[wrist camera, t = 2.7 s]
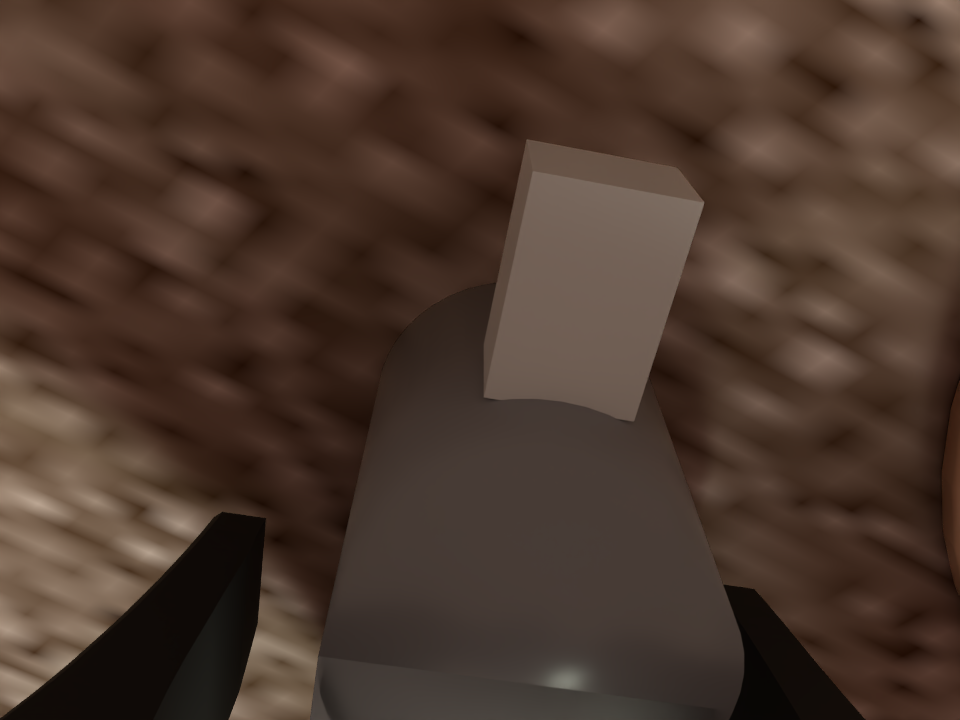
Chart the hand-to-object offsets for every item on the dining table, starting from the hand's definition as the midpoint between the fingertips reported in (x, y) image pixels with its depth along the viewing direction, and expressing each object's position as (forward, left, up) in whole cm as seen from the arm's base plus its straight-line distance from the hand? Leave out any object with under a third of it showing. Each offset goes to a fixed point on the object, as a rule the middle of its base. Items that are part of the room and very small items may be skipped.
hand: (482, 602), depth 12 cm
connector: (+1, 0, -1) cm, 2 cm away
